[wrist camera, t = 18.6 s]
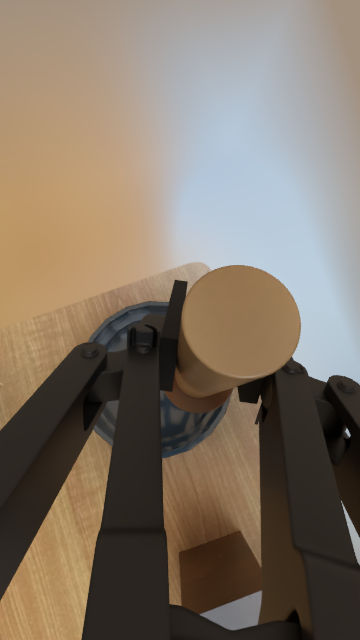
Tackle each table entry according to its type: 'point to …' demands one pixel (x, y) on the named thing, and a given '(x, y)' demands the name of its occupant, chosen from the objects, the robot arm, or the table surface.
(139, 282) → the table surface
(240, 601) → the stand
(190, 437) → the bowl
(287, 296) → the pestle
